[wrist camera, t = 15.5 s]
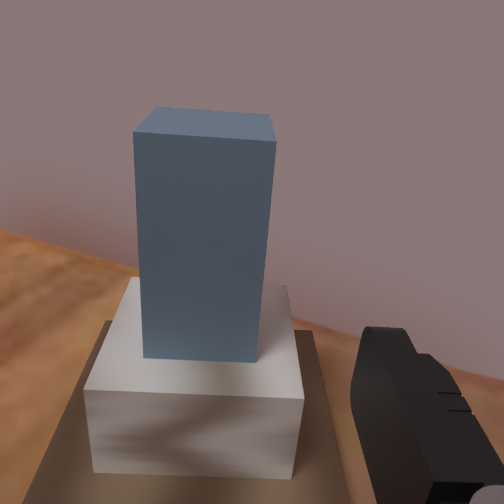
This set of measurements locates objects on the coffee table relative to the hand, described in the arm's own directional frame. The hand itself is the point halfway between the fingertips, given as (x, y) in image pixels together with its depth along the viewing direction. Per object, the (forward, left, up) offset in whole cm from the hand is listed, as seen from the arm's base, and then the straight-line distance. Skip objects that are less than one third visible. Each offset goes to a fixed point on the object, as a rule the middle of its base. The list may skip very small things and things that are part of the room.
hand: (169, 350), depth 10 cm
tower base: (-4, +10, -15) cm, 19 cm away
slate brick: (-4, +10, -7) cm, 13 cm away
